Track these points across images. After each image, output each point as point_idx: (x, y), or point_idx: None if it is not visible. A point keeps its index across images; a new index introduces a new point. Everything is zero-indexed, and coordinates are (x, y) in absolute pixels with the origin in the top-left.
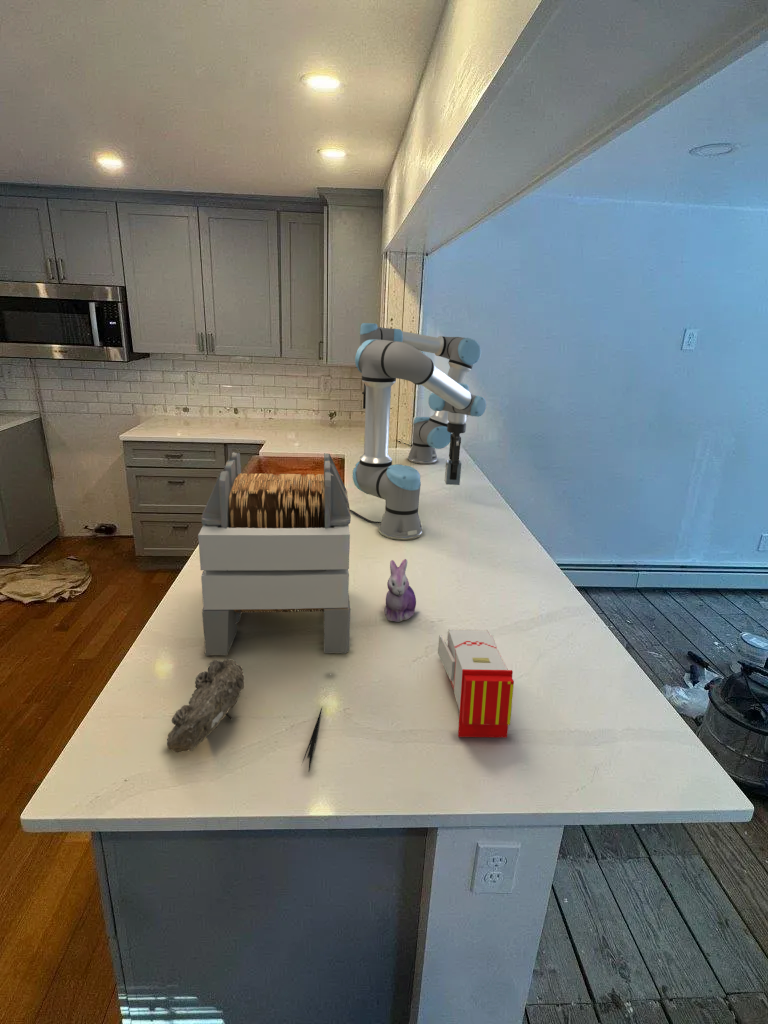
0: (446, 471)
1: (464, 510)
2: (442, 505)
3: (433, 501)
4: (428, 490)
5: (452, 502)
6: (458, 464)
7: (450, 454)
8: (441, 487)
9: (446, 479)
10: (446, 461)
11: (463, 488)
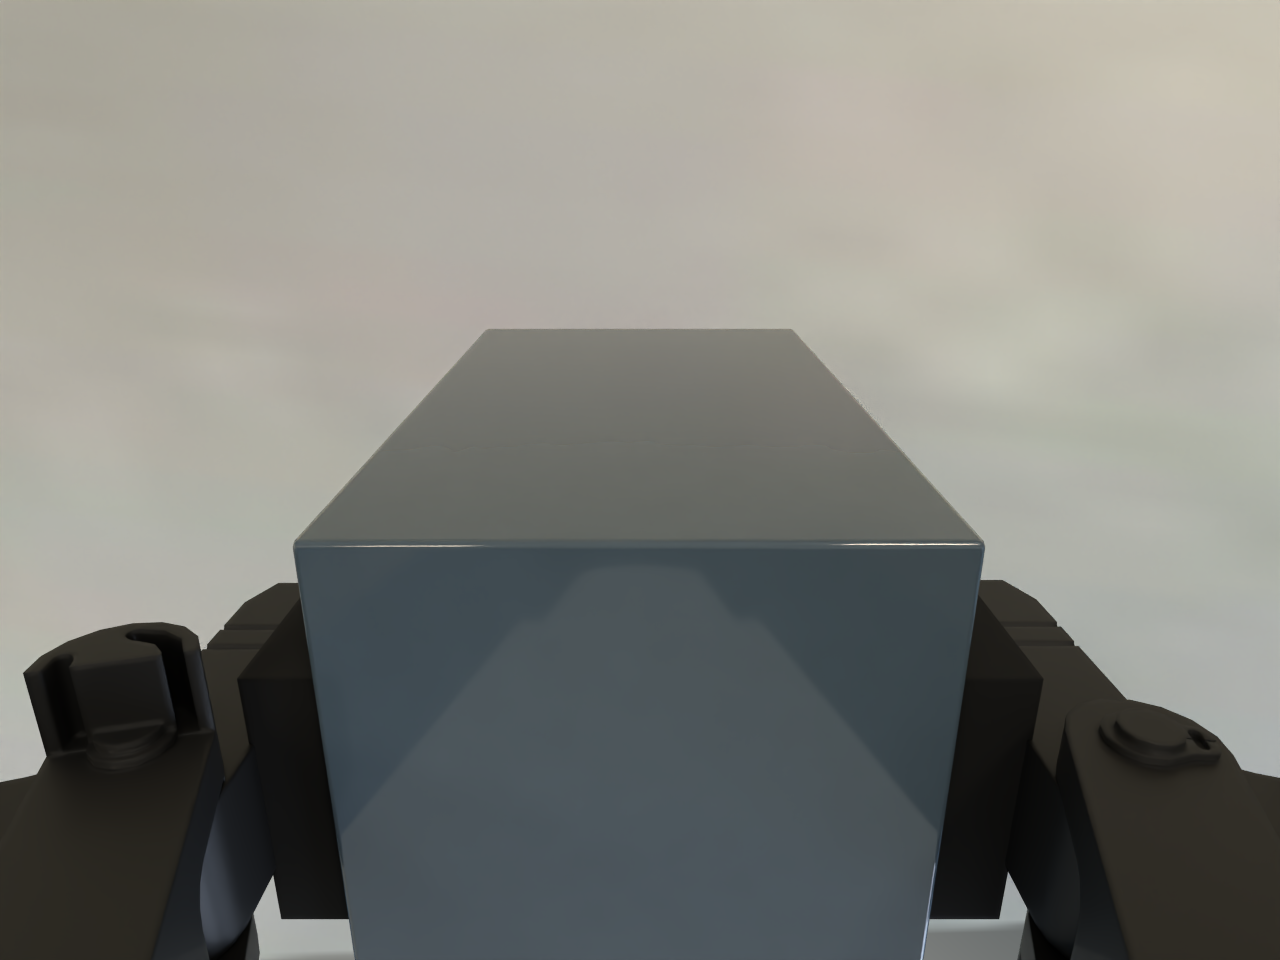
0: (546, 405)
1: (89, 522)
2: (226, 208)
3: (406, 60)
4: (1061, 19)
5: (420, 393)
6: (369, 936)
7: (1117, 954)
8: (1227, 299)
9: (461, 357)
10: (816, 522)
11: (1140, 642)
